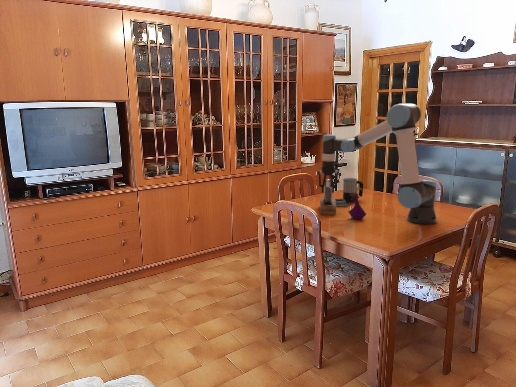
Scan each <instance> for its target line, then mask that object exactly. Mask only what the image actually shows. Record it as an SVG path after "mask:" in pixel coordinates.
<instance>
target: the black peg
mask: <svg viewBox="0 0 516 387" xmlns="http://www.w3.org/2000/svg"><path fill="white" fill-rule="evenodd" d="M331 193H332V186H331V187H326V188H325V205H331V199H332V198H331ZM332 194H333V193H332Z"/></svg>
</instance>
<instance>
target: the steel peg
mask: <svg viewBox="0 0 516 387" xmlns="http://www.w3.org/2000/svg"><path fill="white" fill-rule="evenodd" d="M324 187H325V188H326V187H332V184H331V178H326V180H325V184H324Z"/></svg>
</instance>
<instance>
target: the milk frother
mask: <svg viewBox="0 0 516 387" xmlns="http://www.w3.org/2000/svg"><path fill="white" fill-rule="evenodd" d="M342 181H343V184H342V185H343V188H342V199H345V201H347V203H355V200H354V198H352V196H353V193H358V196H359V198H361V197H362V196H363V193H364V182H362V181H361V180H358V179H357V178H354V177H346V178H344V177H343V179H342ZM358 185H359V187H358ZM356 188H361V189H362V191H361V189H359V190H357V191H356Z"/></svg>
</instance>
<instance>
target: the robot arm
mask: <svg viewBox="0 0 516 387" xmlns="http://www.w3.org/2000/svg"><path fill="white" fill-rule="evenodd" d="M421 117H422V110H421V109H420V107H419V106H418V105H416V104H415V103H398V104H394V105H393V106H391V107H390V108H389V110H388V111H387V114H386V120H384V121H382V122H380V123H378V124H377V125H374V126H373V127H371V128H369V129H367V130H365V131H363V132H361V133H359V134H358V135H356V136H353V137H349V138H337V137H336V135H335V134H324V135H323V136H322V155H321V156H322V159H321V160H322V161H321V163H322V164H321V165H322V167H321V169H320V170H317V172H316V173H317V174H318V186H319V187H320V188H321V193H322V194H323V198H325V180H326V179H327V176H330V180H331V187H332V193H331V199H333V193H335V188H337V187H338V180H339V174H340V171H339V170H337V169H336V167H335V166H336V164H335V163H336V160H335V159H336V152H340V153H352V152H353V151H357V150H360V149H362V148H364V147H365V146H366V145H368V144H371V143H373V142H375V141H377V140H379V139H381V138H383V137H386V136H387V135H389V134H391V133H393V134H394V135H395V138H396V146H397V154H398V160H399V168H400V174H401V181H400V182H399V190H398V192H397V199H398V202H399V204H400V205H401V206H403V207H404V208H405V209H409V211H408V213H407V215H406V220H407V221H408V222H411V223H413V224H419V225H432V224H436V223H437V214H436V209H435V201H436V200H435V199H436V189H437V182H436V181H434V180H431V179H430V180H429V179H422V178H421V177H420V172H419V166H418V157H417V150H416V143H415V135H414V134H415V133H414V131H415V130H416V127H417V125H416V124H418V122H419V121H420V120H421ZM322 173H323V180H322V178H321V177H322V176H321V174H322ZM334 173H335V178H333V174H334ZM334 179H335V180H334Z"/></svg>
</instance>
